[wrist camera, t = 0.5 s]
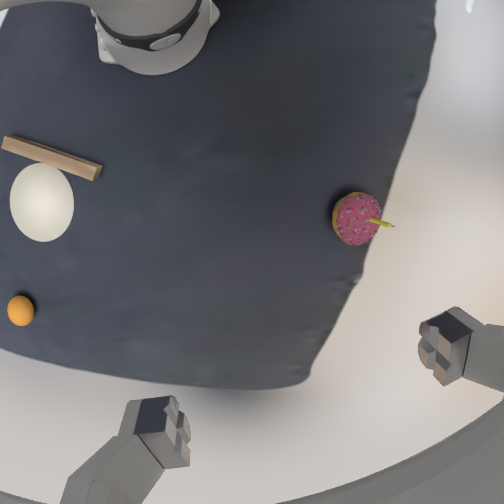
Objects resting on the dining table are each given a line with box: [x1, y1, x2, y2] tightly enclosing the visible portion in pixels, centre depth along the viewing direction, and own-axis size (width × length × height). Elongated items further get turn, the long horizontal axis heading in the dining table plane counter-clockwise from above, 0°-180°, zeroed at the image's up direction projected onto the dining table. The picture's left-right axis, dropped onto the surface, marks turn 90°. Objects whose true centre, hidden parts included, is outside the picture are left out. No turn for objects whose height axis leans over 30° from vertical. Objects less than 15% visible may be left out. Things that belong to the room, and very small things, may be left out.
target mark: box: [10, 163, 74, 242], centre depth 40 cm, size 13×13×1 cm
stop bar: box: [1, 135, 102, 181], centre depth 37 cm, size 2×18×3 cm, turn 66°
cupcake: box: [332, 192, 395, 245], centre depth 46 cm, size 9×8×12 cm
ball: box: [8, 296, 34, 326], centre depth 43 cm, size 6×6×6 cm
